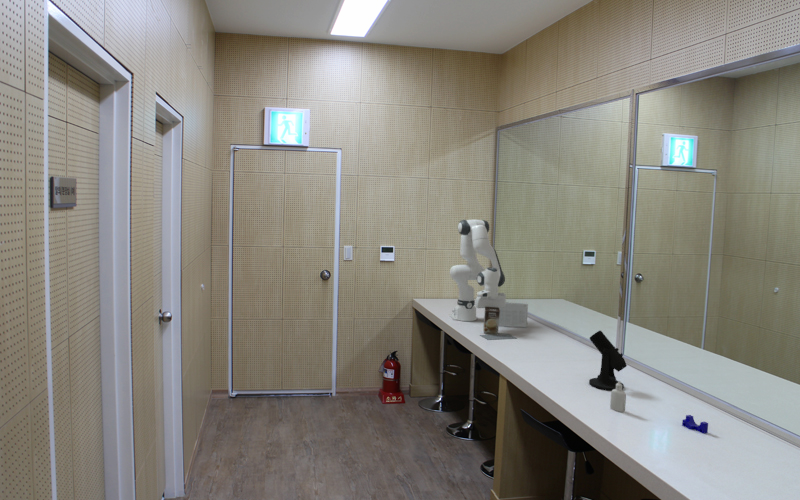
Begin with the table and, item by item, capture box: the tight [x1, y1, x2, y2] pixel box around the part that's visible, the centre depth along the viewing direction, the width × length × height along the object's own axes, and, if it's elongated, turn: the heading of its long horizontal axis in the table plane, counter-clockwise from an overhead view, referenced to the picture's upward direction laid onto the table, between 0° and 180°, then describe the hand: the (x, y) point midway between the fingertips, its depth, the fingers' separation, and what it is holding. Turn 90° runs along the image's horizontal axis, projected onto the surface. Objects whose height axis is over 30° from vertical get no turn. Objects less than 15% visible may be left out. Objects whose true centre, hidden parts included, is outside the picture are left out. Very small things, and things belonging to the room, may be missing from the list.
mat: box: [479, 333, 518, 341], centre depth 334 cm, size 11×20×1 cm, turn 107°
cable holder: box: [681, 414, 709, 435], centre depth 201 cm, size 8×4×4 cm, turn 19°
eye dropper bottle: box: [609, 380, 627, 413], centre depth 218 cm, size 4×6×12 cm
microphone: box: [588, 330, 628, 392], centre depth 247 cm, size 15×17×25 cm
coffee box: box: [482, 307, 500, 335], centre depth 341 cm, size 9×6×16 cm
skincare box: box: [499, 301, 529, 328], centre depth 365 cm, size 21×6×16 cm, turn 84°
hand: (490, 314), depth 345 cm, fingers closed
